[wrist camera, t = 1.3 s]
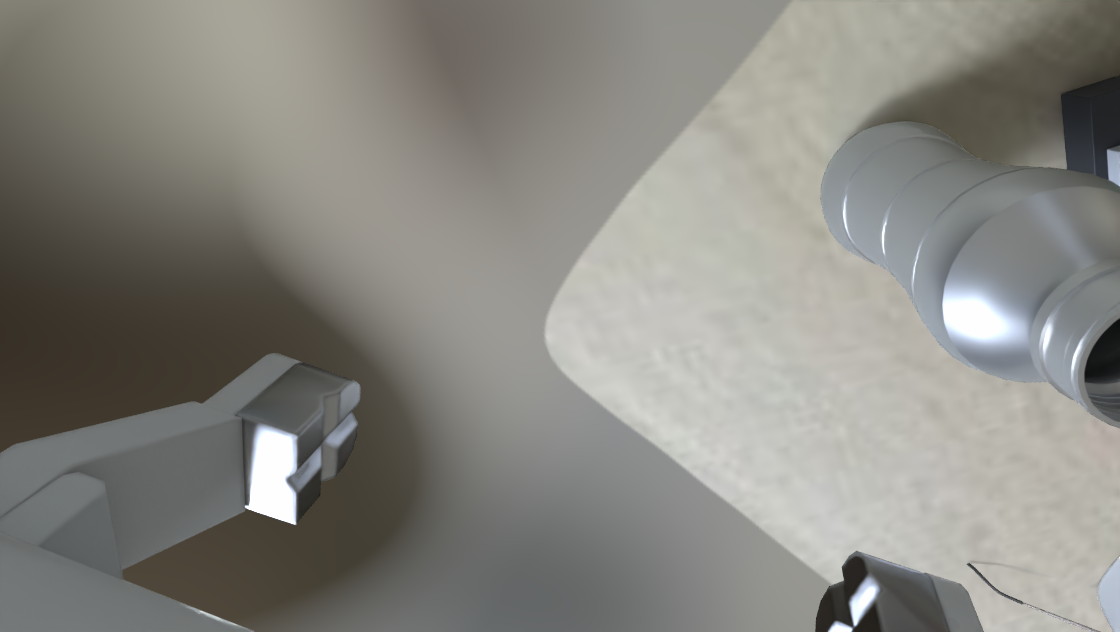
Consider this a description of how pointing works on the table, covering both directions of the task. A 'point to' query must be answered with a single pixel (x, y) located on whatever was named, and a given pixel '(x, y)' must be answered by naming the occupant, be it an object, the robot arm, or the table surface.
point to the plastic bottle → (990, 255)
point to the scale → (1093, 129)
